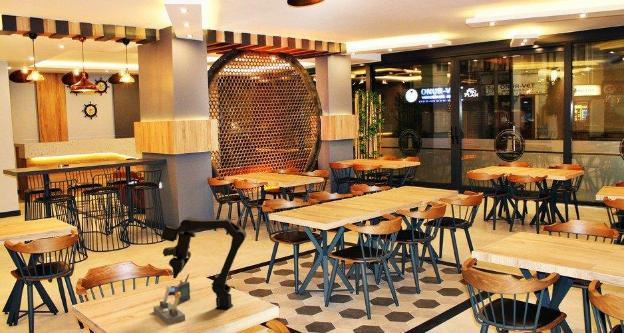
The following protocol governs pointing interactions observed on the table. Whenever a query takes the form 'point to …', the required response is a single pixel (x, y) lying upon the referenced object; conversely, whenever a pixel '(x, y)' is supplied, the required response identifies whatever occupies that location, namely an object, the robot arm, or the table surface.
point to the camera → (172, 291)
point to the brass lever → (176, 301)
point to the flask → (183, 291)
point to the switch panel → (168, 313)
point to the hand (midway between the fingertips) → (176, 275)
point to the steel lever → (166, 293)
